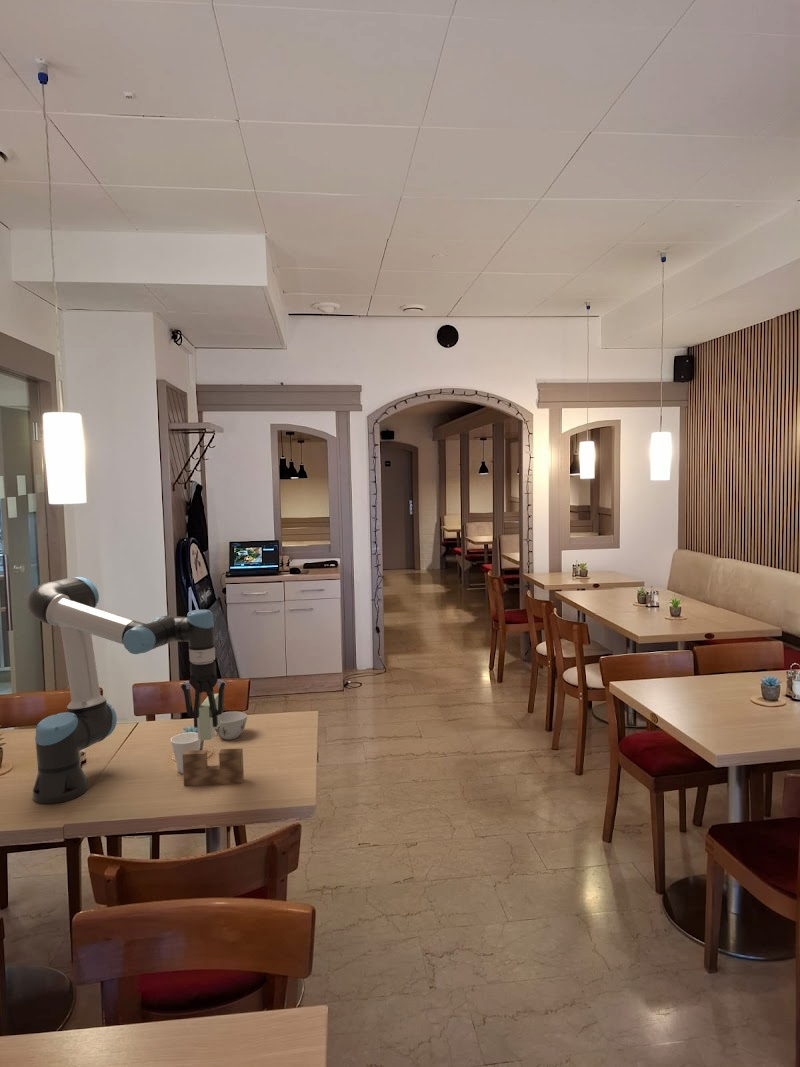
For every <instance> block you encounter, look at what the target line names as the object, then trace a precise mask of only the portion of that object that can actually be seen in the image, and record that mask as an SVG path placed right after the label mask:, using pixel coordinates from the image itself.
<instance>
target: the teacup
mask: <svg viewBox="0 0 800 1067" xmlns="http://www.w3.org/2000/svg"><path fill="white" fill-rule="evenodd" d="M247 720H248V715H247V713H246V712H243V711H239V710H238V711H236V710H235V711H225V712H222V714H221V715H220V725H219V727H218V729H215V733H216V734H217V735H218V736H220V737H221V738H222V739H223V740H226V741H231V740H236V739H238V737H240V735H241V734H242V733H243V731H244V730H245V727H246V724H247Z"/></svg>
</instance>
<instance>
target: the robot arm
mask: <svg viewBox="0 0 800 1067" xmlns="http://www.w3.org/2000/svg"><path fill="white" fill-rule="evenodd" d="M99 600H100V595H99V591H98V589H97V587H96V585H95V584H94V582H92V581H91V580H89V579H88V578H85V577H82V576H75V577H68V578H67V577H66V578H63V579H62V578H61V579H56V580H54V581H47V582H43V583H41V584H38V585H37V586H36V587H34V588H33V589H32V590H31V592H30V594H29V595H28V599H27V606H28V611H29V613H30V614H31V615H32V617H34V618H35V619H36V620H38V621H40V622H42V623H45V624H47V625H50V626H51V625H52V626H58V627H59V628H60V633H61V638H62V639H61V640H62V645H63V652H64V653H63V654H64V661H65V667H66V674H67V679H68V685H69V692H70V699H71V700H70V702H69V703H68V705H67V706H66V708H67V711H65V712H58V713H57V714H52V715H49V716H47V717H45V718H43V719H42V720H40V721H39V722H38V723H37V725H36V727H35V737H34V740H35V749H36V759H37V760H36V761H37V775H36V778H35V781H34V782H35V783H34V786H33V789H32V798H33V799H32V800H33V801H34V802H36V803H39V804H45V805H50V804H51V805H52V804H58V803H64V802H68V801H71V800H74V799H76V798H78V797H80V796H82V795H83V794H85V793H86V792H87V790H88V788H89V787H88V786H89V785H88V779H87V777H86V774H85V773H84V770H83V769H82V768H83V767H82V766H81V760H80V759H81V758H80V752H81V751H83V750H85V749H87V748H88V747H91V746H93V745H94V744H96V743H100V742H102V741H104V740H105V739H106V738H107V737H109V736H110V735H112V733H113V732H114V731H115V728H116V726H117V720H118V719H117V718H118V717H117V713H116V711H115V709H114V707H112V706H113V705H112V704H110V703H109V702H108V701H107V698H106V697H105V696H104V695H101V692H100V691H101V690H100V685H99V676H98V671H97V670H98V669H97V665H96V657H95V656H96V655H95V649H94V644H93V636H96V637H98V638H103V639H106V640H108V641H112V642H114V643H118V644H121V645H123V646H124V648H125V650H127V651H128V652H129V653H130V654H133V655H140V654H144V653H145V654H146V653H147V652H150V651H152V650H155V649H157V648H159V647H163V646H165V645H168V644H170V643H173V642H180V643H181V642H185V643H186V642H188V652H189V653H188V654H189V662H190V664H189V672H190V674H189V675H190V676H189V677H190V678H189V680H188V681H186V682H183V683H182V684H181V686H180V688H181V689H182V692H183V696H184V703H185V710H186V715H187V717H192V718H193V726H194V728H196V729H197V733H198V739H201V738H200V720H199V707H200V706H201V700H202V693H206V697H207V696H208V699H209V704H210V709H211V713H212V715H211V716H210V735H211V740H212V739H214V738H215V737H216V731H215V727H216V726H217V725H218V717H217V716H218V715H221V714H222V713H224V707H225V706H224V705H225V688H226V685H227V680H221V679H219V678H218V675H217V664H216V663H217V662H216V661H215V660H216V648H215V647H216V646H215V622H214V614H213V612H212V611H211V610H210V609H194V610H190V611H188V613H187V614H186V616H179V615H178V616H175V615H174V616H173V615H159V616H157V617H155V618H154V619H153V620H152V622H149V623H144V622H141V621H137V620H135V619H132V618H129V617H125V616H122V615H119V614H116V613H112V612H110V611H106V610H102V609H100V608H97V605H98V603H99ZM92 635H93V636H92ZM216 685H217V688H218V693H219V694H218V693H217V694H218V710H217V707H216V702H215V698H214V694H215V693H214V692H215V691H214V688H215V687H216ZM191 687H192V688H193V689H194V690H195V692H194V705H193V700H192V695H191Z"/></svg>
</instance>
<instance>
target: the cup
mask: <svg viewBox="0 0 800 1067" xmlns="http://www.w3.org/2000/svg"><path fill="white" fill-rule="evenodd" d="M201 742H202V740H201V739H198V732H191V731H190V732H183V733H179V734H175V735H174V736H172V737H171V738H170V743H171V748H172V751H173V755H174V760H175V762H176V767H177V768H176V769H177V771H178V773H180V774H183V753H184V751H192V750H201V749H200V748H201Z"/></svg>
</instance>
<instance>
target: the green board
mask: <svg viewBox="0 0 800 1067" xmlns="http://www.w3.org/2000/svg"><path fill="white" fill-rule="evenodd" d="M218 694H219V692H218V693H214V698H215V702H216V707H217V710H218ZM211 715H212V713H211V709H210V704H209V699H208V696H207V695H206V698H205V699H204V700H203V702H202V703H200V707H199V720H200V738H201V741H211V740H212V739H211V735H210V716H211ZM217 717H218V725H217V726H216V727H215V729H218V727H219V725H220V715H218V716H217Z"/></svg>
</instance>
